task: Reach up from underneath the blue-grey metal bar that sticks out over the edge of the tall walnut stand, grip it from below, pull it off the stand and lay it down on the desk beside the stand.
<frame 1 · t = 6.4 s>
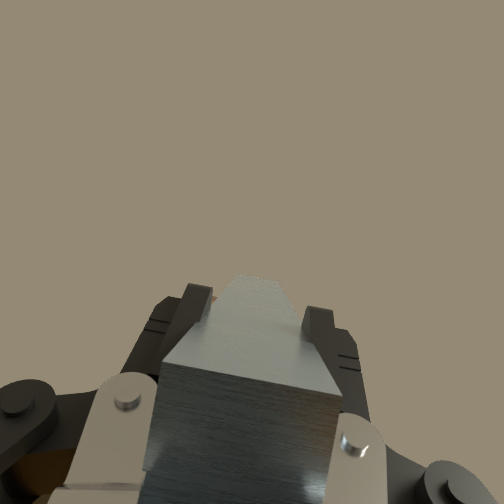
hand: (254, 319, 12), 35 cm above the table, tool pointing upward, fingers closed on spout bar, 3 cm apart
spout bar: (245, 360, 17), point 32 cm above the table, touching gripper, walnut stand
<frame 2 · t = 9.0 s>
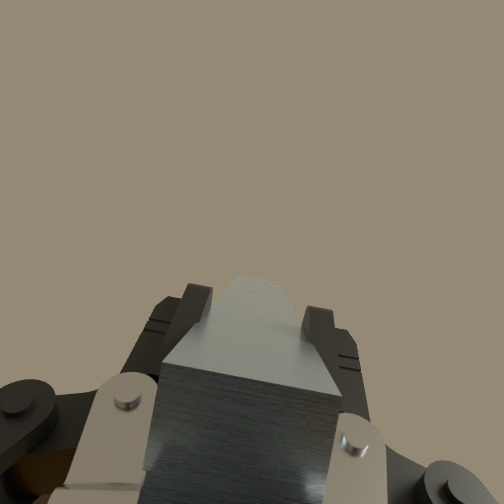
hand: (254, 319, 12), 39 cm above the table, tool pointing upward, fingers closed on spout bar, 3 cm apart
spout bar: (245, 361, 17), point 36 cm above the table, touching gripper
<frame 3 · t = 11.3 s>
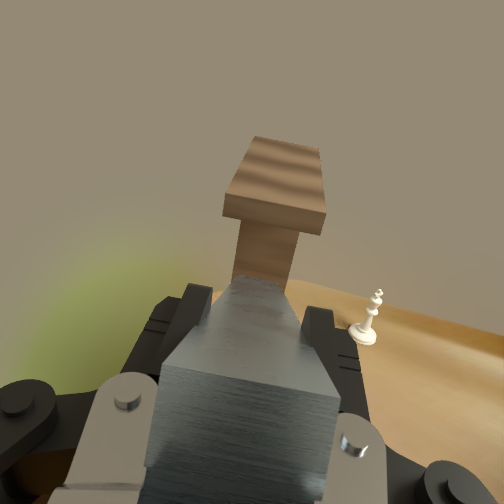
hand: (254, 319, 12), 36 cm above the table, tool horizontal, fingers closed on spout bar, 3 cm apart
chess piece: (361, 335, 68), on the table
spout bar: (244, 361, 17), point 30 cm above the table, tilted 29°, touching gripper
walnut stand: (237, 382, 54), on the table
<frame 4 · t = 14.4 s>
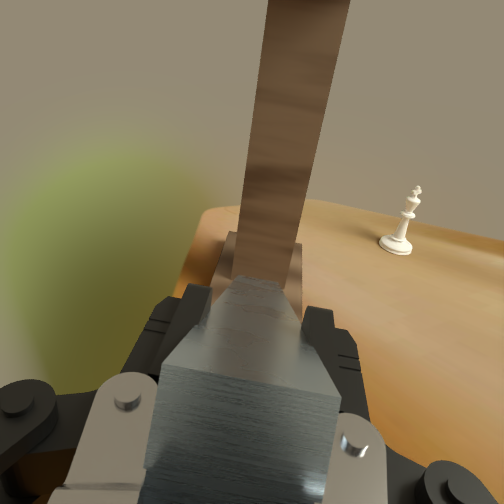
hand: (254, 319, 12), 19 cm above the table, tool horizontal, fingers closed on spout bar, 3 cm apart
chess piece: (394, 247, 59), on the table
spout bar: (244, 361, 17), point 13 cm above the table, tilted 31°, touching gripper
walnut stand: (257, 283, 46), on the table
when the fingers open (10 cm above the table, at t = 16.6 s): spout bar drops 6 cm, on the table.
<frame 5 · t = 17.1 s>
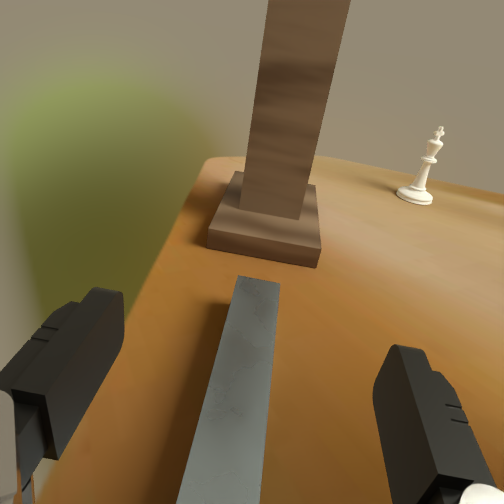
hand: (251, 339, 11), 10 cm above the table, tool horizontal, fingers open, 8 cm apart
chess piece: (413, 199, 54), on the table
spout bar: (226, 453, 19), on the table
walnut stand: (267, 220, 41), on the table
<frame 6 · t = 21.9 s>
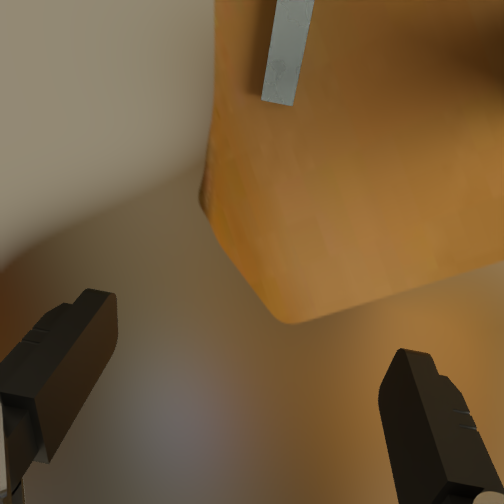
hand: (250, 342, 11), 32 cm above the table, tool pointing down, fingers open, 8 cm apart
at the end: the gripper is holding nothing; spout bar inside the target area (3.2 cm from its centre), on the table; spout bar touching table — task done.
